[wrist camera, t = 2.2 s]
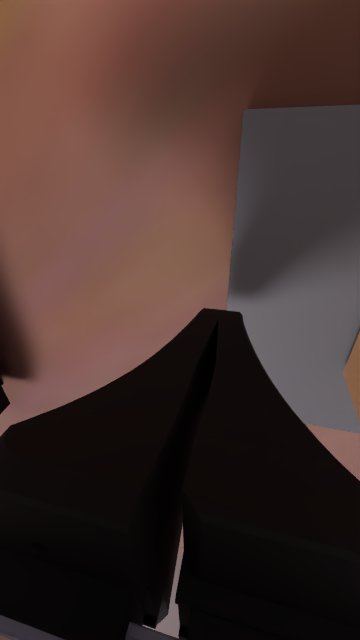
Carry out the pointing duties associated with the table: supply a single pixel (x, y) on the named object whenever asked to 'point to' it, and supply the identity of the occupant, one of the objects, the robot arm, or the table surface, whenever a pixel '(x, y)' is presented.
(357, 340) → the fader knob
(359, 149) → the fader panel
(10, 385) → the table surface
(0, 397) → the game console
